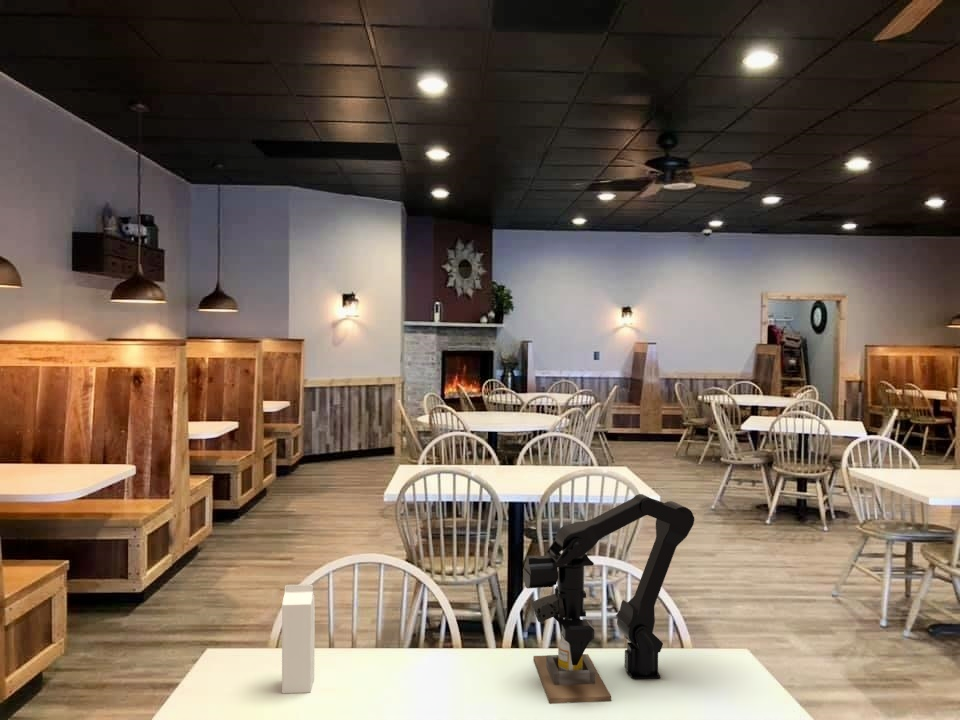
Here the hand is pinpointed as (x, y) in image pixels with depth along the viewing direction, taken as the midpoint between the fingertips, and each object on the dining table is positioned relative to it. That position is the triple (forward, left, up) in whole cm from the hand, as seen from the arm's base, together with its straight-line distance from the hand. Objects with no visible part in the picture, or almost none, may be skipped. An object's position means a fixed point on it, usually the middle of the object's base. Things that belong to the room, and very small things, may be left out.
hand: (570, 655), depth 157 cm
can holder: (0, 0, -5) cm, 5 cm away
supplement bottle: (0, 0, -4) cm, 5 cm away
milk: (+59, -1, -6) cm, 59 cm away
